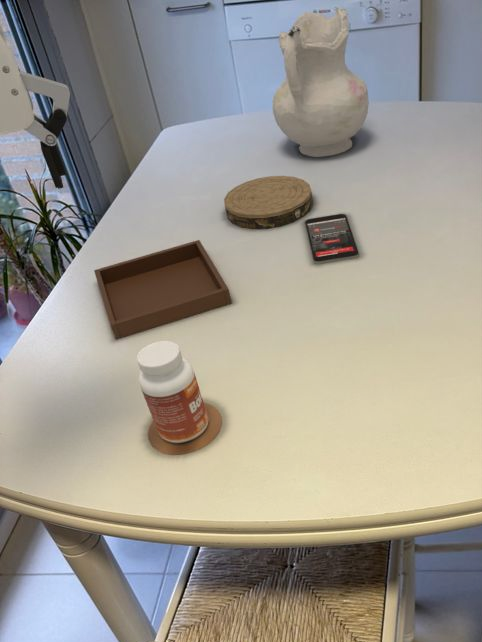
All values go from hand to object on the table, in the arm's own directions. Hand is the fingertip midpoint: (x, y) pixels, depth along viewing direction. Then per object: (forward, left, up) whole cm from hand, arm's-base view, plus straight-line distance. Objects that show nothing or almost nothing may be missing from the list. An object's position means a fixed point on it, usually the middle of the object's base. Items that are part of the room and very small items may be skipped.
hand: (10, 195), depth 64 cm
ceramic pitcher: (+55, +60, -28) cm, 86 cm away
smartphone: (+41, +23, -28) cm, 55 cm away
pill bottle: (+8, -10, -28) cm, 30 cm away
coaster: (+8, -10, -28) cm, 31 cm away
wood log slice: (+36, +40, -28) cm, 61 cm away
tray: (+12, +22, -28) cm, 38 cm away
